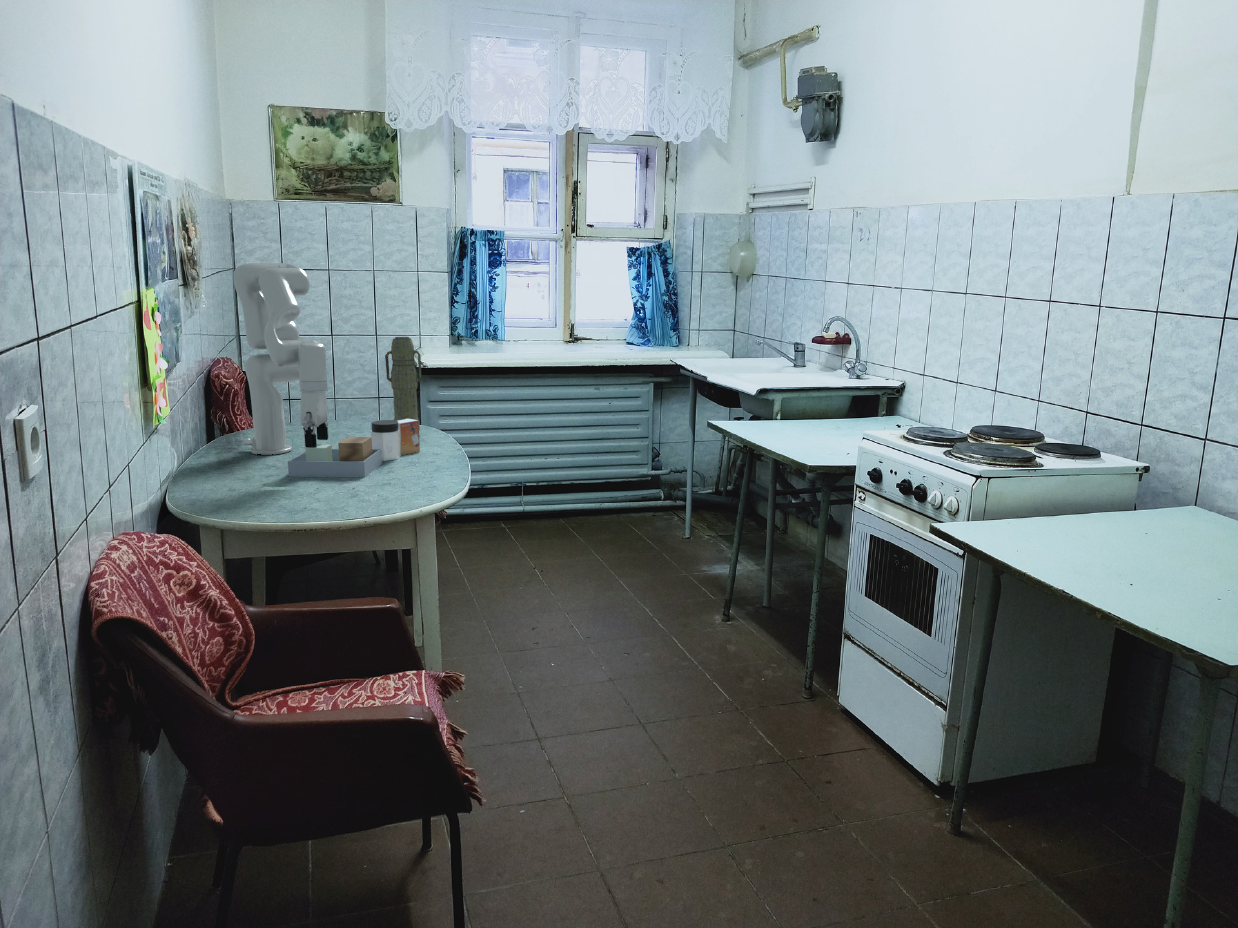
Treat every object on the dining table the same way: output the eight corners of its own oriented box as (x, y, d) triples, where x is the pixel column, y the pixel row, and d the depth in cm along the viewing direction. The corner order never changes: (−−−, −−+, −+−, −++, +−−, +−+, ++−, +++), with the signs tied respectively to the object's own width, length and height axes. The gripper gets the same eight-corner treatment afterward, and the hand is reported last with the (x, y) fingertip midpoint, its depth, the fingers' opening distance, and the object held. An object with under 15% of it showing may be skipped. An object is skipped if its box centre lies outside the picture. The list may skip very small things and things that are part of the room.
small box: (401, 455, 290) (399, 423, 287) (389, 453, 293) (388, 421, 291) (420, 451, 296) (419, 420, 294) (409, 449, 299) (407, 418, 297)
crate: (289, 478, 259) (287, 461, 258) (310, 465, 276) (309, 448, 275) (365, 479, 259) (364, 461, 258) (382, 466, 276) (381, 449, 274)
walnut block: (340, 473, 263) (338, 442, 261) (350, 466, 272) (348, 436, 270) (364, 473, 263) (362, 443, 261) (373, 466, 271) (371, 437, 269)
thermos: (388, 435, 321) (383, 336, 313) (422, 434, 325) (418, 335, 317) (390, 440, 313) (384, 338, 305) (425, 438, 316) (420, 338, 309)
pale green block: (306, 471, 265) (305, 447, 264) (313, 467, 270) (311, 444, 269) (327, 471, 265) (325, 448, 263) (333, 467, 270) (331, 444, 268)
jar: (377, 464, 278) (374, 425, 275) (368, 459, 285) (366, 421, 282) (405, 460, 283) (403, 422, 280) (396, 455, 289) (394, 418, 287)
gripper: (311, 380, 271) (314, 436, 275) (289, 390, 254) (293, 450, 258) (336, 381, 270) (339, 437, 275) (315, 391, 254) (319, 451, 258)
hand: (316, 443), depth 266 cm, fingers open, 9 cm apart
